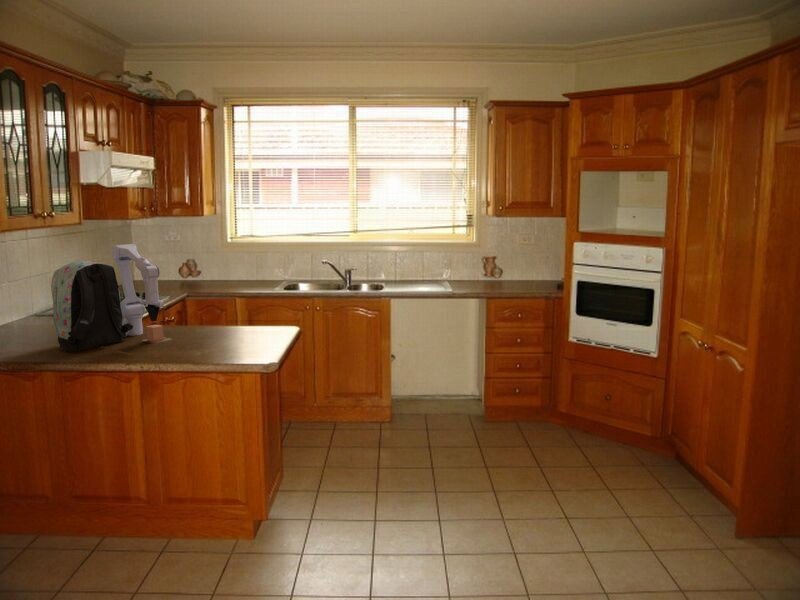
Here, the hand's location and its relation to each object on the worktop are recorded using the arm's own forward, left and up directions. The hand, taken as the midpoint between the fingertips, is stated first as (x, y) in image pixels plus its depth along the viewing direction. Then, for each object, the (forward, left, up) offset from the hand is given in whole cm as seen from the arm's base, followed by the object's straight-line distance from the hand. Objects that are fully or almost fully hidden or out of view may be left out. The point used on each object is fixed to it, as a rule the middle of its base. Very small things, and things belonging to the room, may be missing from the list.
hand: (153, 321), depth 304 cm
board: (0, +1, -10) cm, 10 cm away
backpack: (-19, -21, -10) cm, 30 cm away
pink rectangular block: (0, 0, -9) cm, 9 cm away
